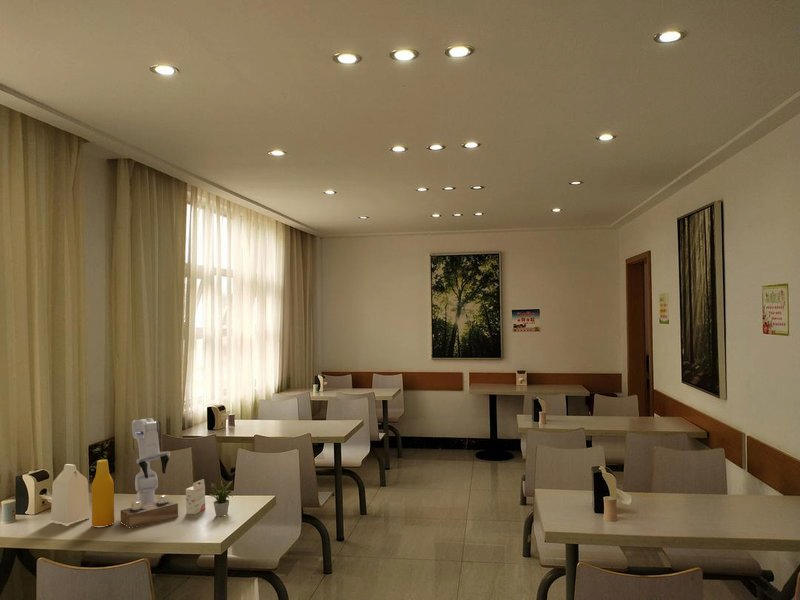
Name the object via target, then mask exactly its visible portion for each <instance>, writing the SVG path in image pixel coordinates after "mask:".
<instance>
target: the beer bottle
mask: <svg viewBox="0 0 800 600" xmlns="http://www.w3.org/2000/svg"><path fill="white" fill-rule="evenodd" d="M96 462H97V463H96V470H95V471H96V472H95V476H94V478H93V480H92V483H91V526H92V525H93V526H106V525H110V524H112V523H114V524H115V521H116V520H115V489H114V488H115V484H114V479H113V478H112V476H111V474H110V469H109V461H108V459H99V460H97V461H96ZM93 526H92V527H93Z"/></svg>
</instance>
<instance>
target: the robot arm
mask: <svg viewBox="0 0 800 600" xmlns="http://www.w3.org/2000/svg"><path fill="white" fill-rule="evenodd" d="M159 425H160V424H159V422H158V420H155V421H154V418H152V417H151V418H150V417H149V418H141V419H133V420H132V421H131V430H132V431H131V433H132V437H133V439H135V440H137V445H138V453H139V455H138V456H139V458H137V459H136V465H139V467H140V468H139V469H140V471H139V472H138V473H137V474H136V475H135V479H134V488H135V492H136V496H135V497H136V499H135V501H141V505H145V504H149V503H153V502H156V498H155V497H156V496H155V493H156V489H157V488H158V487H159V480H158V475H157V472H156V471H154V470H152V469H151V461H155V460H159V459H160V462H161V471H162V474H166V469H167V466H168V463H169V460H170V457H171V452H170V451H168V450H166V451H162V452H161V450H160V441H159V431H160V430H159V429H160V427H159Z"/></svg>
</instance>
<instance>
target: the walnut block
mask: <svg viewBox="0 0 800 600" xmlns="http://www.w3.org/2000/svg"><path fill="white" fill-rule="evenodd" d="M177 516H178V517H179V503H178V502H175V501H173V500H170V499H168V498H167V504H165V505H161V506H159V505H158V501H155V502H153V503H149V504H145V505H141V510H140V511H136V512H132V507H129V508H125V509H120V523H121V522H122V523H123V524H125V525H127V526H128V527H130V528H131V529H133V528H132V527H135V528H137V527H136V526H139V527H142V526H141V525H143V526H146V525H145V524H147V525H150V524H149V523H151V524H154V523H158V522H161V520H162V521H166V520H170V519H173V517H174V518H176V517H177ZM169 518H170V519H169ZM165 519H166V520H165ZM157 521H158V522H157ZM153 522H154V523H153ZM128 527H127V528H128ZM130 528H129V529H130Z"/></svg>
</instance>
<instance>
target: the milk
mask: <svg viewBox="0 0 800 600" xmlns="http://www.w3.org/2000/svg"><path fill="white" fill-rule="evenodd" d="M89 495H90V493H89V481H88V478H87V477H86V476H85V475H83V474H82V473H80V471H78V469H77V466H76V464H71V463H70V464H69V463H66V464H64V466H63V470H61V472H60V473H59V474H58V475H57V477H55V479H54V480H53V482H52V490H51V510H50V511H51V512H50V521H51V520H54V521H58V522H62V523H70V522H73V521H76V520H79V519H82V518H86V517H89V516H90V517H91V508H90V496H89Z"/></svg>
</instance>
